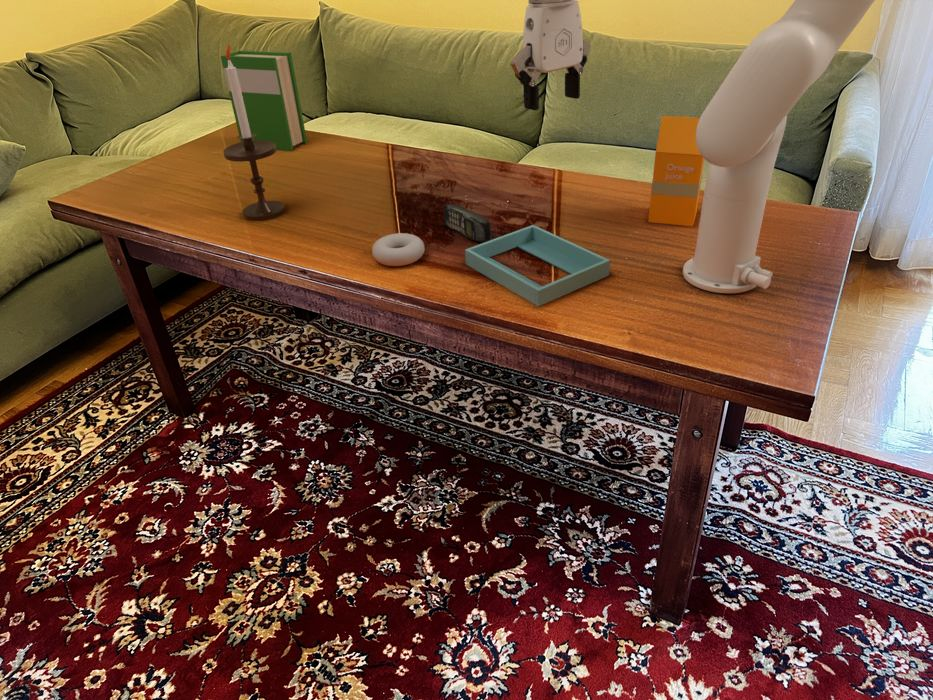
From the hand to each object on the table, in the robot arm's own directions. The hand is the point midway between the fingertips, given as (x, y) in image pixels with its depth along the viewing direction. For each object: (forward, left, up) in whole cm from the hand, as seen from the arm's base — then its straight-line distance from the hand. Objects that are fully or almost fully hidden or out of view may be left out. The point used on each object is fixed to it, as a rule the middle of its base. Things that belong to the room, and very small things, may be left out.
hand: (552, 103), depth 119 cm
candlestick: (+52, +38, -26) cm, 70 cm away
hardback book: (+99, +16, -26) cm, 104 cm away
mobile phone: (+11, +12, -26) cm, 30 cm away
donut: (+12, +27, -26) cm, 39 cm away
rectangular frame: (-9, +11, -25) cm, 29 cm away
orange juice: (-10, -25, -26) cm, 37 cm away
